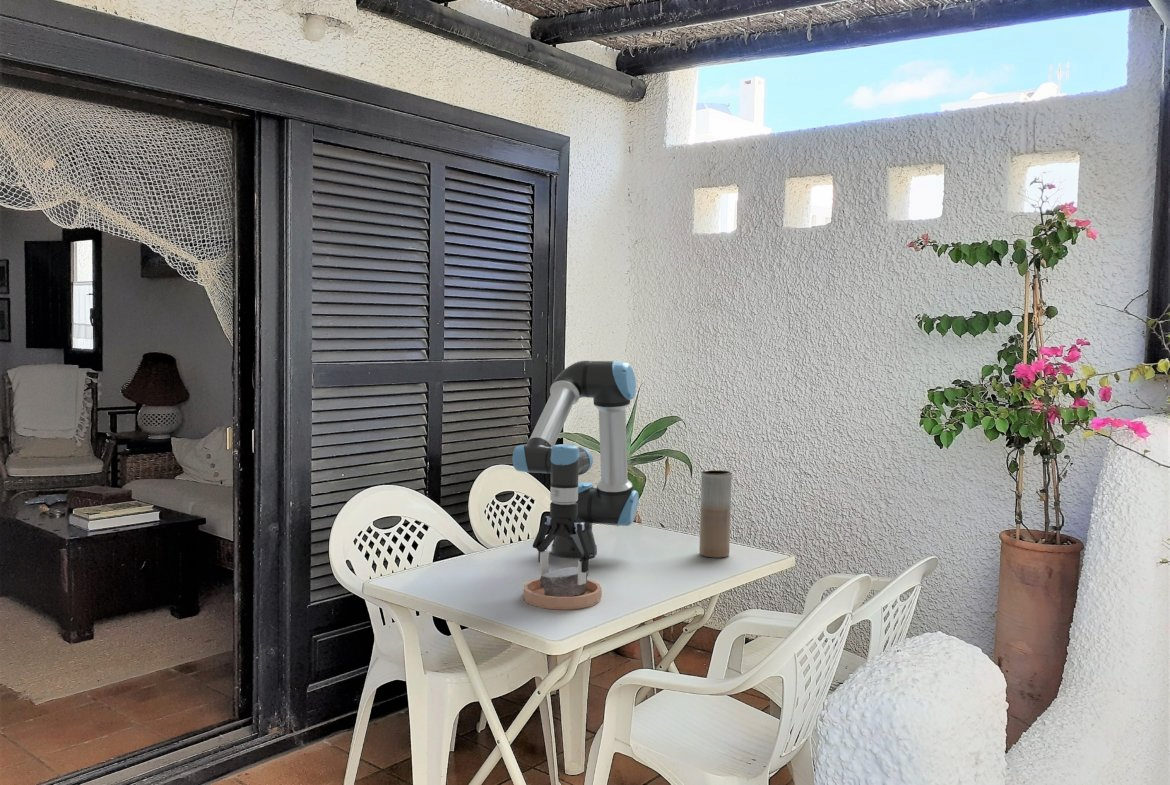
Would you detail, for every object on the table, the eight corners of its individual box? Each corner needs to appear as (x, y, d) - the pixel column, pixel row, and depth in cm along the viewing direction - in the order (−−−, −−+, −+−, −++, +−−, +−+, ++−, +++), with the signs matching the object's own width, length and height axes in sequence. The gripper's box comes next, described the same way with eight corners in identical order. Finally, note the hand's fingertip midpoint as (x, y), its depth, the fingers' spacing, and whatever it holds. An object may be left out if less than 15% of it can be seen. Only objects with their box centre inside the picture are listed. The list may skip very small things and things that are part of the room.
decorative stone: (593, 592, 246) (561, 585, 250) (594, 568, 245) (563, 561, 250) (568, 606, 233) (535, 599, 237) (569, 580, 232) (536, 574, 237)
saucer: (507, 598, 240) (507, 587, 240) (558, 583, 256) (558, 572, 256) (566, 615, 227) (566, 602, 226) (616, 597, 243) (616, 586, 243)
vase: (734, 557, 292) (736, 473, 290) (705, 558, 289) (708, 474, 288) (722, 550, 301) (724, 469, 300) (694, 551, 299) (697, 470, 297)
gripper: (520, 497, 245) (519, 573, 246) (591, 509, 229) (589, 590, 230) (539, 494, 251) (537, 568, 252) (608, 506, 235) (607, 585, 236)
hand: (562, 579), depth 241 cm, fingers open, 13 cm apart
